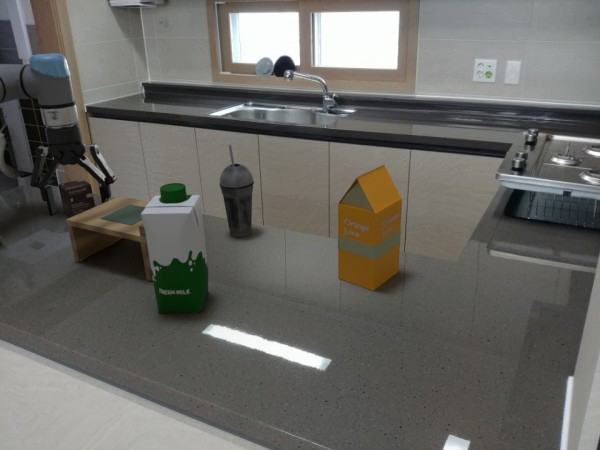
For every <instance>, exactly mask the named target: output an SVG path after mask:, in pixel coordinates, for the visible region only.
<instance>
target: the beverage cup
mask: <svg viewBox="0 0 600 450" xmlns="http://www.w3.org/2000/svg"><path fill="white" fill-rule="evenodd" d="M228 150H229V157H230V164H229V165H227V166H226V167H225V168H224V169H223V170H222V171H221V174H220V177H219V183H218V184H219V187H220V191H221V194H222V197H223V203H224V208H225V214H226V219H227V225H228V229H229V234H230V236H231V237H234V238H246V237H248V236H250V235H251V233H252V225H253V224H252V221H253V217H252V215H253V191H254V183H255V181H254V177H253V175H252V172H251V171H250V169H249V168H248V167H247V166H245V165H243V164H241V163H235V159H234V154H233V148H232V144H229V145H228Z"/></svg>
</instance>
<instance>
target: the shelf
mask: <svg viewBox="0 0 600 450" xmlns="http://www.w3.org/2000/svg"><path fill="white" fill-rule="evenodd" d="M149 202H150V201H147V200H143V199H137V198H131V197H126V196H121V195H120V196H117V197H114V198H112V199H109V201H107V202H105V203H103V204H102V203H101V204H98V205H95V207H94V208H91V209H89V210H87V211H84V212H82V213H80V214H78V215H75V216H73V217H68V218H66V219H65V220H66V225H67V230H68V234H69V239H70V245H71V248H72V251H73V257H74V261H75V260H77V261H76V262H78V261H80V260H82V259H84V258H86V257H88V256H90V255H91V256H93V255H95V254H97V253H99V252H101V251H103V250H105V249H106V248H105V247H107V246H108V247H110V246H112V245H114V244H116V243H118V242H120V241H121V240H120V239H122V238H124V239H125V240H130V241H133V242H138V243H140V248H141V254H142V259H143V266H144V272H145V278H146V281H149V282H153V277H152V271H151V265H150V259H149V252H148V246H147V240H146V233H145V228H144V224H143V220H142V217H141V213H142V212H143V210H144V209H145V206H146V205H147V204H148V203H149ZM119 240H120V241H119ZM122 240H123V239H122ZM117 241H118V242H117ZM115 242H116V243H115ZM113 243H114V244H113ZM111 244H112V245H111ZM109 245H110V246H109ZM108 247H107V248H108ZM104 248H105V249H104ZM102 249H103V250H102ZM100 250H101V251H100ZM98 251H99V252H98ZM96 252H97V253H96ZM94 253H95V254H94ZM92 254H93V255H92ZM91 256H90V257H91ZM88 258H89V257H88ZM86 259H87V258H86ZM84 260H85V259H84ZM82 261H83V260H82ZM80 262H81V261H80Z"/></svg>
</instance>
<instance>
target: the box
mask: <svg viewBox="0 0 600 450" xmlns="http://www.w3.org/2000/svg"><path fill="white" fill-rule="evenodd" d="M58 190H59V195H60V199H61V204H62V209H63V213H64V214H66V215H67V216H68V217H69V218H71V217H73V216H75V215H78V214H80V213H82V212H84V211H87V210H89V209H91V208H94V207H96V204H95V203H96V202H95V198H94V194H93V188H92V184H91V183H90V182H87V180H84V179H78V180H71V181H67V182H62V183H58Z"/></svg>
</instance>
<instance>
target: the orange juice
mask: <svg viewBox="0 0 600 450" xmlns="http://www.w3.org/2000/svg"><path fill="white" fill-rule="evenodd" d="M402 209H403V198H402V196H401V194H400V192H399V190H398V189H397V187H396V185H395V183H394V181H393V179H392V177H391V175H390V173H389V171H388V170H387V168H386V166H385V164H382V165H380V166H377V167H376V168H374V169H371V170H369V171H367V172H365V173H362V174H361V175H358V176H356V178H355V179H354V180H353V182H352V183H351V185H350V186H349V188H348V189H347V191H346V192H345V193H344V194H343V196H342V197H341V199H340V200H339V201H338V203H337V231H338V232H337V255H338V256H337V275H338V276H337V278H338V279H339V280H342V281H345V282H347V283H350V284H353V285H356V286H359V287H362V288H364V289H366V290H370V291H373V292H374V291H375V290H376V289H378V288H379V287H380V286H381V285H383V284H385V282H387V281H388V280H390V279H392V277H393V276H395V275H396V274H397V273H399V272H400V271H399V269H400V251H401V250H400V249H401V234H402V232H401V231H402V229H401V227H402Z"/></svg>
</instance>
